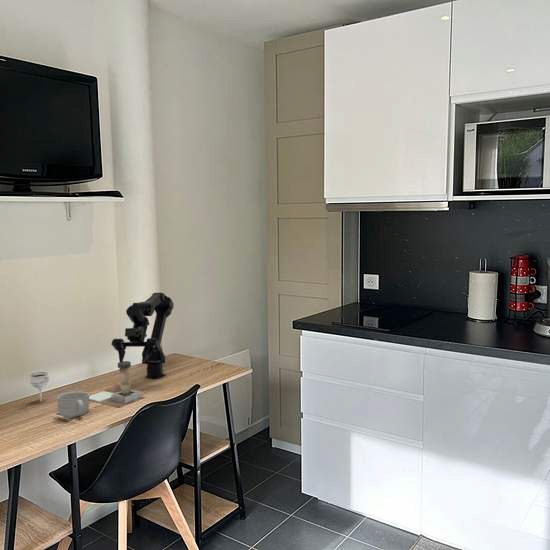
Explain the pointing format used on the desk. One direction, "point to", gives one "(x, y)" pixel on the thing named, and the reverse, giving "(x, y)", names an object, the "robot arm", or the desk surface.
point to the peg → (125, 377)
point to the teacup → (73, 404)
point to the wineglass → (39, 381)
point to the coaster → (100, 396)
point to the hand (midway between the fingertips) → (131, 363)
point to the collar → (126, 397)
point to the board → (114, 404)
